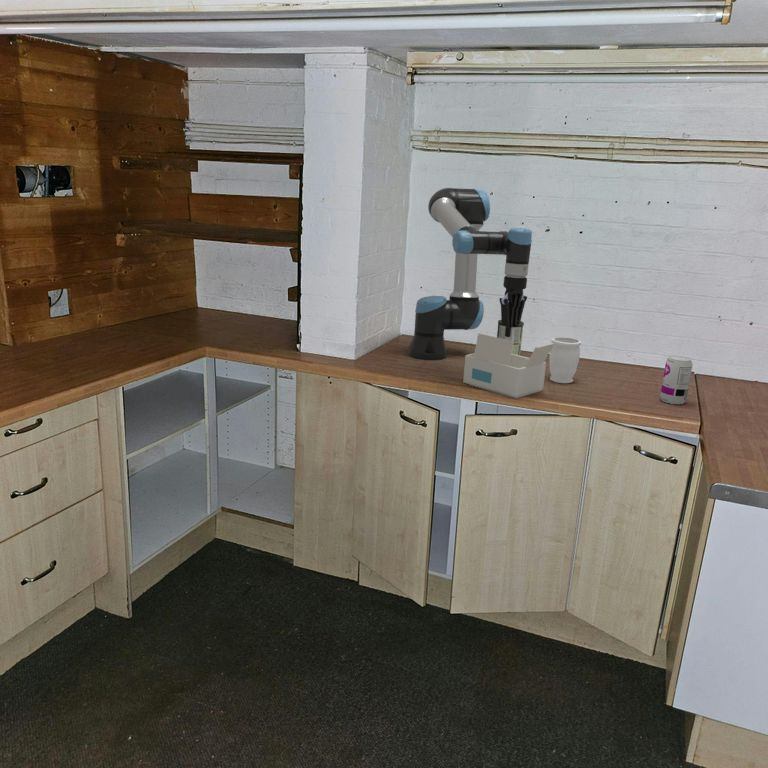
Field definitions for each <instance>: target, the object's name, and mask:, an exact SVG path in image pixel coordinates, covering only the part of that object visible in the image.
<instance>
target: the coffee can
mask: <svg viewBox="0 0 768 768" xmlns="http://www.w3.org/2000/svg"><path fill="white" fill-rule="evenodd" d="M517 321H518V320H517ZM524 325H525V322H524V321H522V320H521V321H520V324H519V327H515V335H514V344H513V349H512V354H516V355H520V356H521V351H522V350H521V349H522V343H523V342H522V339H523V333H524ZM505 328H506V327H505V326H503V325H502V321H501V319H499V320H497V331H496V333H497V334H496V337H497V338H501V339H505Z"/></svg>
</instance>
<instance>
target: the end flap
mask: <svg viewBox="0 0 768 768" xmlns="http://www.w3.org/2000/svg"><path fill="white" fill-rule="evenodd" d="M553 345H554V344H553V343H552V342H550V343H546V344H542V345H537V346H535V348H534V350H533V351H532V353H531V355H530V356H529V358H530V359H529V361H528V362H527V364H526V366H525V367H526V368H528V367H532V366H536V365H540V364H543V363H544V362H546V359H547V358H548V356H549V355H550V350H551V348H552V347H553Z"/></svg>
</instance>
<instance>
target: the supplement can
mask: <svg viewBox="0 0 768 768" xmlns="http://www.w3.org/2000/svg"><path fill="white" fill-rule="evenodd" d="M693 366H694V365H693V362H692V358H690V357H688V356H681V355H669V356H668V357H667V359H666V360H665V365H664V372H663V376H662V383H661V387H660V388H661V389H660V394H659V399H660V400H661V401H662V402H663V403H665V402H666V404H668V403H670V404H669V405H674V404H677V405H678V404H679V405H680V404H681V405H684V403H685V404H686V402H687V398H688V392H689V388H690V382H691V381H690V380H691V376H692V370H693ZM677 405H676V406H677Z"/></svg>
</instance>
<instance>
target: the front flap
mask: <svg viewBox="0 0 768 768" xmlns="http://www.w3.org/2000/svg"><path fill="white" fill-rule="evenodd" d="M513 344H514V341H510V340H505V339H501V338H497V336H491V335H489V334H482V333H479V332H478V333H477V338H476V344H475V349H474V352H473V353H474V357H477V358H481V359H484V360H488V361H492V362H496V363H500V364H504V365H508V366H509V363H510V359H511V354H512V349H513Z"/></svg>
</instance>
